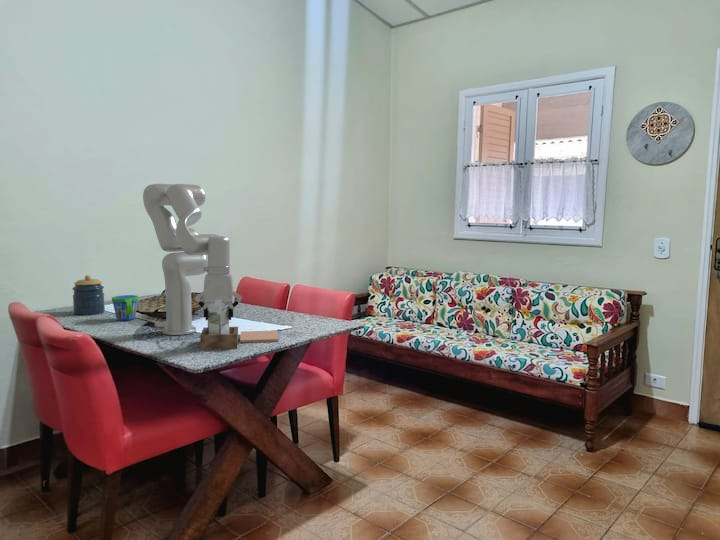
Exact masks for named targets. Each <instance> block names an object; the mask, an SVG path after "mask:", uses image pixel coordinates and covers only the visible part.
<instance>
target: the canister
mask: <svg viewBox="0 0 720 540" xmlns="http://www.w3.org/2000/svg"><path fill="white" fill-rule="evenodd" d="M91 276H92V275H90V274H87V275H85V276H84V278H83V279H78V280H76V282H74V283H73V284H74V286H73V287H72V288H71V289H72V291H73V295H72V300H73V301H72V303H73V304H72V305H73V309H72V310H73V311H72V312H73V315H78V316H90V315H93V316H94V315H99V314H103V313H104V312H105V309H106V308H105V293H104V288H105V286H103V285H102V281H101V280H99V279H96V278H92V277H91Z"/></svg>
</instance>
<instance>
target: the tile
mask: <svg viewBox="0 0 720 540" xmlns="http://www.w3.org/2000/svg"><path fill="white" fill-rule="evenodd" d="M241 342H242V343H241ZM245 342H253V343H273V342H274V343H275V342H279V334H278V330H275V329H273V330H246V331H243V330H242V331H240V337H239V343H240V344H246V343H245Z"/></svg>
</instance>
